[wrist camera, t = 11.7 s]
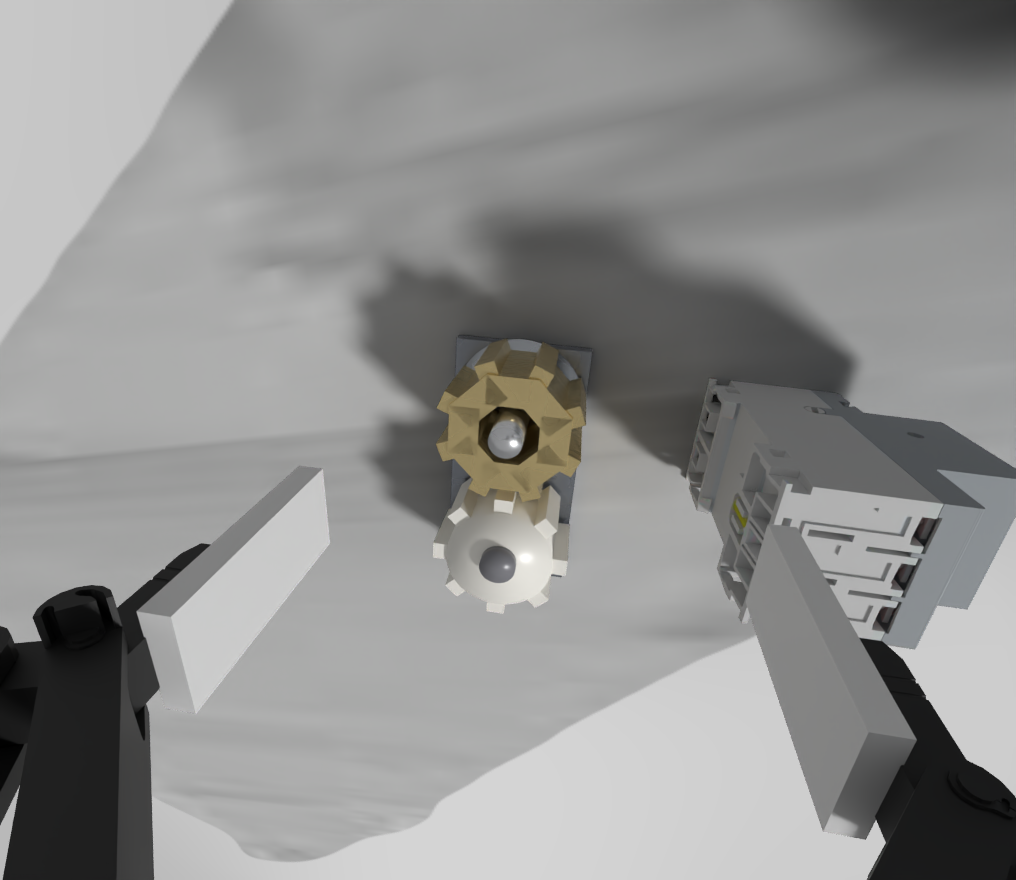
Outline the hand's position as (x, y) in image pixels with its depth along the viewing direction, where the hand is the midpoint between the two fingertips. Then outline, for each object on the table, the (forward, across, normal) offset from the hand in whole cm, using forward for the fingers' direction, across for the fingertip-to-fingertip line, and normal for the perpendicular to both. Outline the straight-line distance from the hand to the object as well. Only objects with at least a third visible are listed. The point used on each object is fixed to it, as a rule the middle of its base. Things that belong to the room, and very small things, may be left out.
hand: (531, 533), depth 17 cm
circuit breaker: (+24, +16, -6) cm, 29 cm away
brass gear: (+22, -3, -4) cm, 22 cm away
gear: (+21, -3, -14) cm, 26 cm away
